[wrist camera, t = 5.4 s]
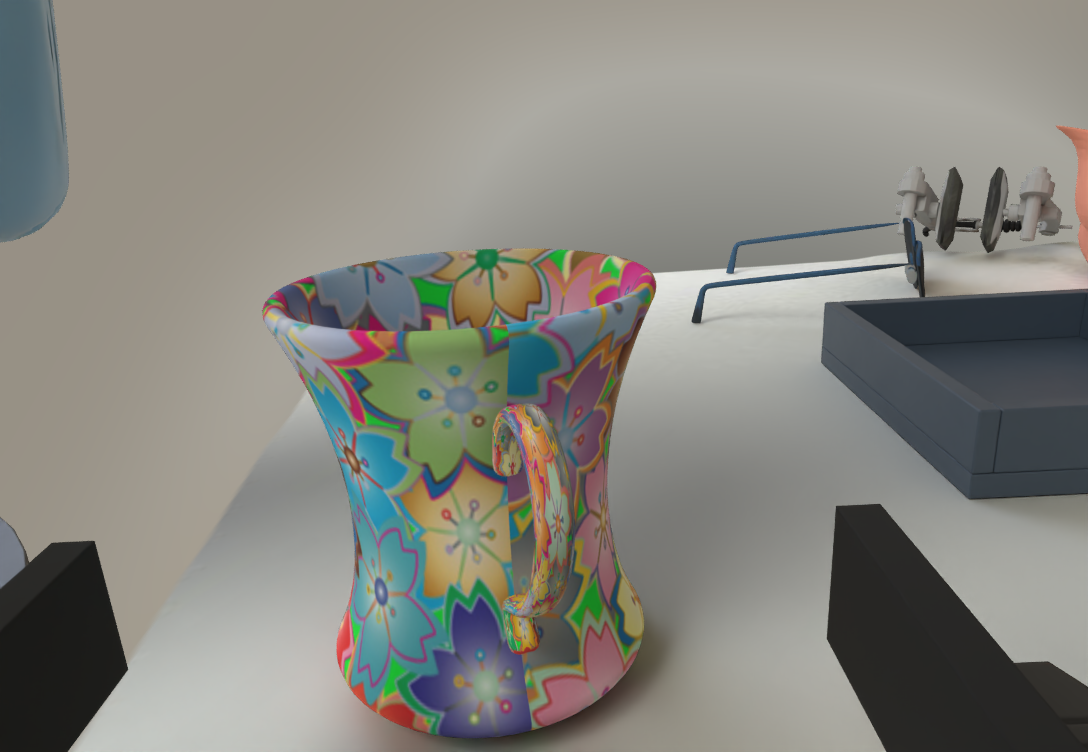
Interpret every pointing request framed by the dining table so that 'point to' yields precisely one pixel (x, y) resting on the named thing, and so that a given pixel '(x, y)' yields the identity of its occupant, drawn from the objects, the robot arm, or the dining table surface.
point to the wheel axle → (944, 214)
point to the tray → (975, 383)
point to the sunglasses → (912, 270)
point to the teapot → (1081, 182)
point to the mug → (475, 477)
